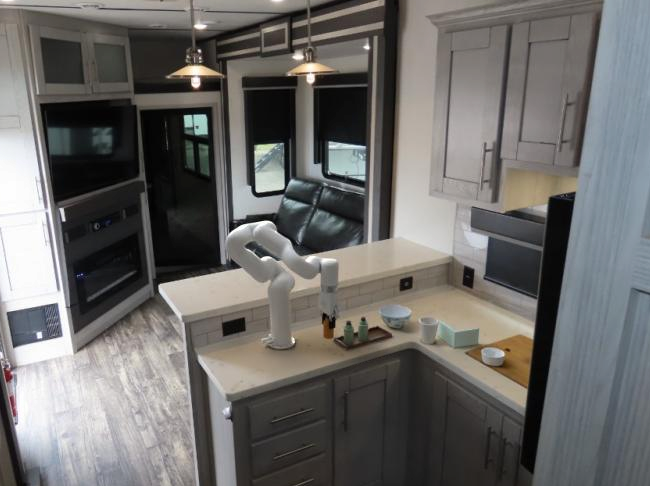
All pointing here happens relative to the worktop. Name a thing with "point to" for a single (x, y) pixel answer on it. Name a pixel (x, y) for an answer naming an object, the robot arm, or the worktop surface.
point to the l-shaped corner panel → (458, 336)
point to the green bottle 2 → (363, 329)
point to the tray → (373, 336)
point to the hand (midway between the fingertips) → (328, 325)
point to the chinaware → (395, 315)
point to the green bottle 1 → (348, 333)
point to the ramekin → (492, 356)
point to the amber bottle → (327, 329)
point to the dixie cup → (428, 329)
